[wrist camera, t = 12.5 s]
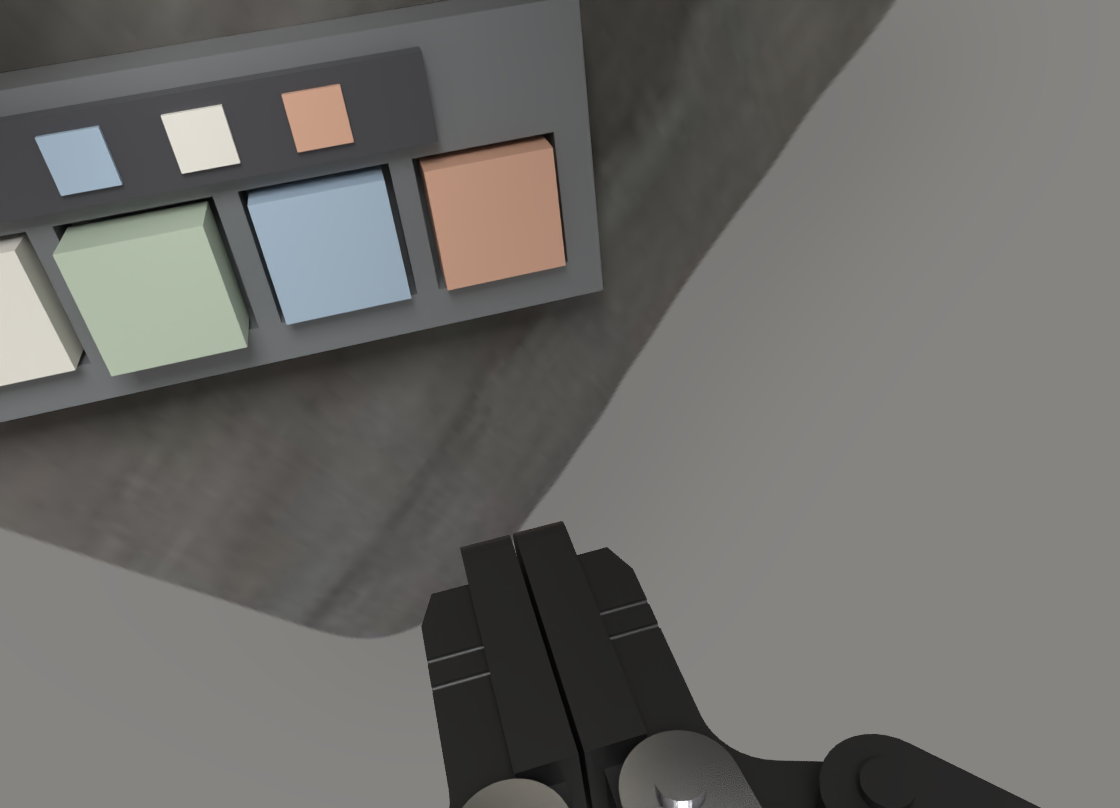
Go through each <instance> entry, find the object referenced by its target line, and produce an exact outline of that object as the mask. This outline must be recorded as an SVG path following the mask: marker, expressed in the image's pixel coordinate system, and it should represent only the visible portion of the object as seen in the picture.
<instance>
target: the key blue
mask: <svg viewBox="0 0 1120 808" xmlns="http://www.w3.org/2000/svg"><path fill="white" fill-rule="evenodd" d="M248 209H249V212H250V215H251V218H252V221H253V224H254V227H255V230H256V233H257V236H258V239H259V242H260V245H261V248H262V251H263V254H264V258H265V261H266V264H267V267H268V270H269V273H270V276H271V279H272V282H273V285H274V288H275V291H276V294H277V297H278V300H279V303H280V306H281V309H282V312H283V315H284V318H285V321H286V324H287V325H289V324H293V323H298V322H303V321H307V320H312V319H317V318H321V317H326V316H331V315H336V314H340V313H345V312H350V311H354V310H359V309H364V308H368V307H373V306H378V305H382V304H387V303H392V302H396V301H401V300H406V299H411V294H410V290H409V286H408V281H407V277H406V273H405V268H404V264H403V259H402V255H401V251H400V246H399V242H398V238H397V233H396V229H395V225H394V220H393V216H392V212H391V207H390V203H389V198H388V194H387V190H386V185H385V181H384V177H383V173H382V170H381V166H380V165H376V166H371V167H365V168H360V169H355V170H349V171H344V172H339V173H333V174H328V175H323V176H318V177H312V178H307V179H302V180H296V181H291V182H286V183H280V184H275V185H270V186H265V187H259V188H254V189H249V196H248Z"/></svg>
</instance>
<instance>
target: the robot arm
mask: <svg viewBox="0 0 1120 808" xmlns="http://www.w3.org/2000/svg"><path fill="white" fill-rule="evenodd" d="M513 539H514V545H515V550H516V553H515V550H514V546H513V543H512V540H511V538H510V535H507V536H503V537H499V538H495V539H492V540H488V541H484V542H480V543H476V544H472V545H468V546H465V547H461V548H460V549H461V554H462V558H463V562H464V566H465V571H466V575H467V579H468V583H469V584H468V585H464V586H461V587H457V588H453V589H449V590H446V591H442V592H438V593H434V594H432V595H431V598H430V601H429V604H428V607H427V611H426V614H425V617H424V620H423V623H422V626H421V627H422V632H423V639H424V645H425V651H426V657H427V661H428V669H429V675H430V681H431V686H432V691H433V698H434V704H435V710H436V716H437V722H438V728H439V734H440V740H441V746H442V752H443V758H444V764H445V770H446V776H447V782H448V787H449V797H450V807H449V808H1040V807H1038V806H1036V805H1034V804H1032V803H1030V802H1028V801H1026V800H1024V799H1022V798H1020V797H1018V796H1015V795H1014V794H1012V793H1010V792H1008V791H1006V790H1003V789H1001V788H999V787H997V786H995V785H993V784H991V783H989V782H987V781H985V780H983V779H981V778H979V777H977V776H975V775H973V774H971V773H969V772H967V771H965V770H963V769H961V768H958V767H956V766H955V765H953V764H950V763H948V762H946V761H944V760H942V759H940V758H938V757H936V756H934V755H932V754H930V753H928V752H926V751H924V750H922V749H920V748H918V747H916V746H914V745H912V744H910V743H907V742H905V741H903V740H900V739H897V738H894V737H890V736H886V735H878V734H864V735H859V736H854V737H851V738H848V739H846V740H844V741H842V742H841V743H839V744H838V745H836V746H835V747H834V748H833V749H832V750H831V751H830V752H829V754H828V755H827V756H826V758H825V759H824V762H817V761H816V762H815V761H776V760H765V759H760V758H755V757H751V756H749V755H746V754H743V753H740V752H739V751H736V750H734V749H733V748H731V747H729V746H728V745H726V744H725V743H724V742H722V741H721V740H720V739H719V738H718V737H717V736H716V735H714V734H713V733H712V732H711V730H710V729H709V728H708V726H707V725H706V724H705V722H704V720H703V719H702V717H701V715H700V713H699V711H698V708H697V706H696V704H695V702H694V700H693V698H692V696H691V693H690V691H689V689H688V687H687V685H686V683H685V680H684V678H683V676H682V674H681V672H680V670H679V667H678V665H677V663H676V661H675V659H674V657H673V655H672V653H671V650H670V648H669V646H668V644H667V642H666V639H665V637H664V635H663V633H662V631H661V629H660V628H659V627H658V623H657V620H656V618H655V616H654V614H653V611H652V609H651V607H650V605H649V604H648V603H647V599H646V596H645V594H644V592H643V590H642V588H641V586H640V583H639V581H638V579H637V577H636V575H635V573H634V571H633V569H632V568H631V567H630V566H629V565H628V564H626V563H625V562H624V561H623V560H622V559H620V558H619V557H618V556H617V555H616V554H614V553H613V552H612V551H611V550H610V549H609V548H607V547H606V548H602V549H599V550H595V551H591V552H587V553H584V554H580V555H577V554H576V552H575V549H574V547H573V544H572V542H571V540H570V537H569V534H568V532H567V530H566V527H565V525H564V523H563V522H562V521H560V522H557V523H552V524H548V525H545V526H541V527H537V528H533V529H529V530H525V531H521V532H518V533H514V534H513ZM516 555H517V556H516Z"/></svg>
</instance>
